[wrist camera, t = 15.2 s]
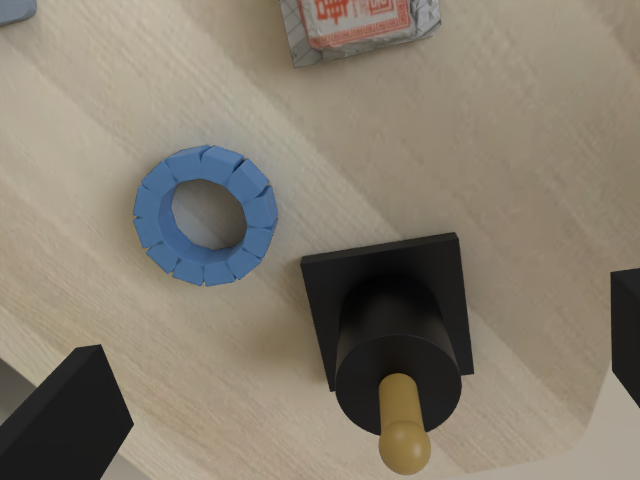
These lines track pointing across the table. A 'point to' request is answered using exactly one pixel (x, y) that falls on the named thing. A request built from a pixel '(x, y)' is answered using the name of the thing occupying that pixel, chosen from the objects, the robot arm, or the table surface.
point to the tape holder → (393, 338)
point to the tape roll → (175, 246)
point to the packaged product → (354, 26)
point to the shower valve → (16, 10)
